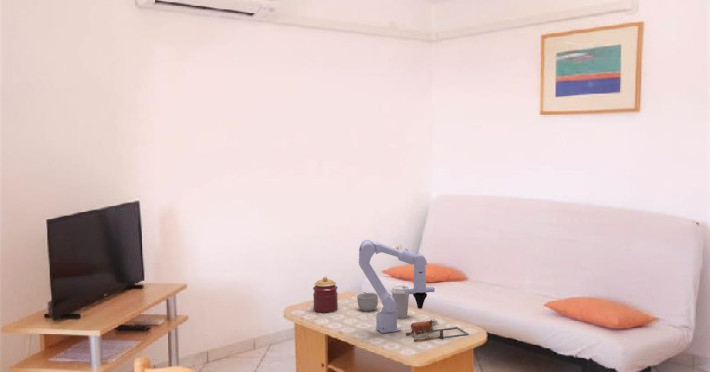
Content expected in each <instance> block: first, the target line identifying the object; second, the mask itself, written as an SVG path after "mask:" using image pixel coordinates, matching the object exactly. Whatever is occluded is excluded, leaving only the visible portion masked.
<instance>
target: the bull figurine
mask: <svg viewBox="0 0 710 372" xmlns="http://www.w3.org/2000/svg"><path fill="white" fill-rule="evenodd" d="M438 325H440V324H439V322H438V320H437V319H436V318H434V317H433V318H432V319H431V318H428V319H426V320H422V321H417V322H412V323H411V324H410V329H411V331H410V332H411V334H412V335H411V337H412V338H415V337H416V336H417V339H418V338H422V337H421V335H420V334H418V332H419V331H420V333H421V332H422V331H426V332H427V333H426V337H430V333H429V331H430V330H431V329H432V328H433V329H434V327H436V326H438ZM413 334H414V335H413Z"/></svg>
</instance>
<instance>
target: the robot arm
mask: <svg viewBox="0 0 710 372" xmlns="http://www.w3.org/2000/svg"><path fill="white" fill-rule="evenodd" d="M380 253H381V254H385V255H386V254H387V255H391V256H393V257H397V260H398V261H400V262H403V263H406V264H408V265H413V288H409V290H405V294H406V295H408V294H409V295H413V298H414V301H415V302H416V306H417V309H419V310H422V309H423V307H424V303H425V300H426V298H427V296H428V294H427V293H435V287H433V286H430V287H428V286H426V285H427V278H426V277H427V272H426V266H427V264H428V261H427V259H426V257H425V256H424V254H421V253H419V252H416V251H415V252H413V251H411V250H409V249H408V248H402V249H396V248H395V247H391V246H388V245H386V244H384V243H381V242H378V241H374V240H372V241H371V240H370V239H365V240H363V241H362V242H361V243H360V245H359V249H358V266H359V267H360V269H361V270H362V272H363V274H364V275H365V277H366V278H367V280H368V281H369V283H370V285H371V286H372V288H373V290H374V291H375V292H376V294H377V295H378V298H379V300H380V301H381V304H382V306H383V307H382V309H381V311H378V312H377V313H376V315H375V316H376V317H375V319H376V320H375V321H376V326H375V329H376V330H377V331H379V332H380V333H381V334H384V333H385V334H386V333H395V332H401V329H400V328H399V327H398V318H397V310H396V308H397V304H396V302H395V299H394V297H393V296H392V295H391V294H390V293H389V292H388V290H387V288H386V287H385V286H384V284H383V282H382V281H381V279H380V277H379V276H378V275H377V273H376V271H375V270H374V268H373V266H372V265H371V264H370V263H371V259H372V257H373V255H374V254H375V255H378V254H380Z"/></svg>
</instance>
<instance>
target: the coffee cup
mask: <svg viewBox="0 0 710 372" xmlns="http://www.w3.org/2000/svg"><path fill="white" fill-rule="evenodd" d="M409 289H410V288H409V286H407V285H394V286H392V288H391V290H390V292H391V294H392V295H391V296H393V297H394V299H395V302H396V304H397V308H396V310H397V319H406V318H408V312H409V311H408V310H409V300H410V299H409V298H410V294H408V295H406V294H405V290H409Z"/></svg>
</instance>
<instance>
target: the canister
mask: <svg viewBox="0 0 710 372" xmlns="http://www.w3.org/2000/svg"><path fill="white" fill-rule="evenodd" d="M336 284H337V283H336V281H334V280H332V279H328V277H327V276H323V277H322V279H318V280H317V281H316V282H314V286H313V287H312V290H313V311H314V312H316V313H320V314H325V313H326V314H327V313H333V312H336V311H338V308H339V304H338V303H339V302H338V294H339V293H338V291H337V290H338V286H337V285H336Z"/></svg>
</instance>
